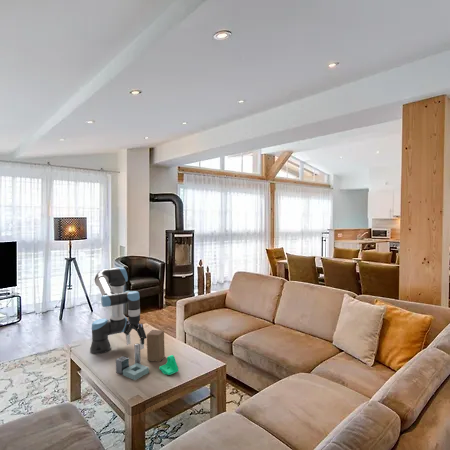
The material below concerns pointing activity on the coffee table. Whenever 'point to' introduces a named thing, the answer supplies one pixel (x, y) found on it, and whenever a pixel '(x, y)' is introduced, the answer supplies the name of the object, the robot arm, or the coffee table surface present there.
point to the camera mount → (169, 366)
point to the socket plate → (135, 371)
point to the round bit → (137, 353)
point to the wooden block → (155, 345)
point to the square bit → (121, 364)
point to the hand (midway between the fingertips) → (135, 346)
